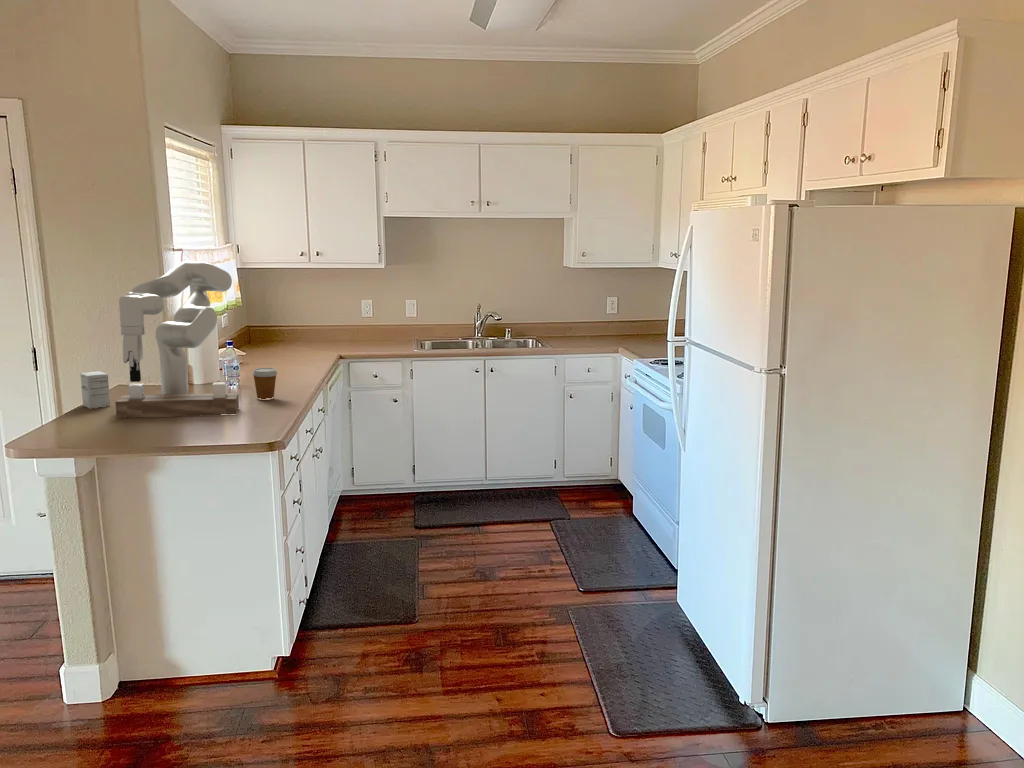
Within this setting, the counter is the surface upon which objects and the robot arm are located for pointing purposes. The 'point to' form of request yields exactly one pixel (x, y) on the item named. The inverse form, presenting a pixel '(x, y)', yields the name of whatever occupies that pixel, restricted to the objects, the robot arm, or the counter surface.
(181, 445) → the counter surface
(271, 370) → the disposable coffee cup
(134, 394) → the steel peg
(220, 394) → the white peg
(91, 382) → the supplement box
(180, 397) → the walnut block
